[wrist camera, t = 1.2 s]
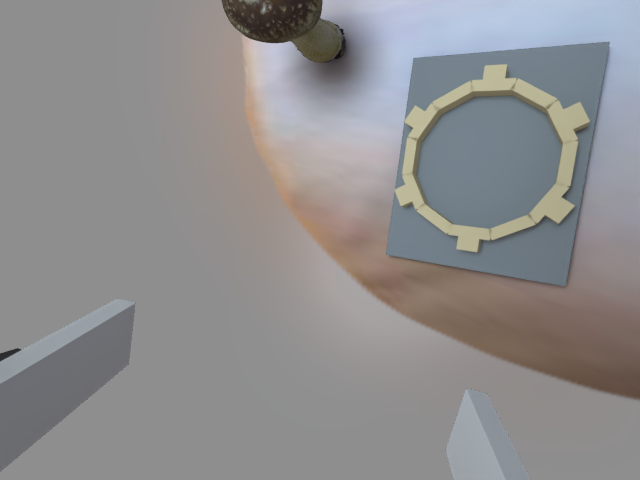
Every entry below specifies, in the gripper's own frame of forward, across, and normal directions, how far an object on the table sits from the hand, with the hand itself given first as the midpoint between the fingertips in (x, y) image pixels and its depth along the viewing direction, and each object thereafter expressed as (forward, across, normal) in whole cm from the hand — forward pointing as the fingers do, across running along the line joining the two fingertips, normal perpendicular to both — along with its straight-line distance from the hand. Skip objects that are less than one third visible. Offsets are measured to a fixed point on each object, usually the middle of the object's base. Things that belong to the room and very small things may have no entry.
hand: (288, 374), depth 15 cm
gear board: (+26, +12, +10) cm, 30 cm away
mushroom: (+34, -6, +20) cm, 40 cm away
